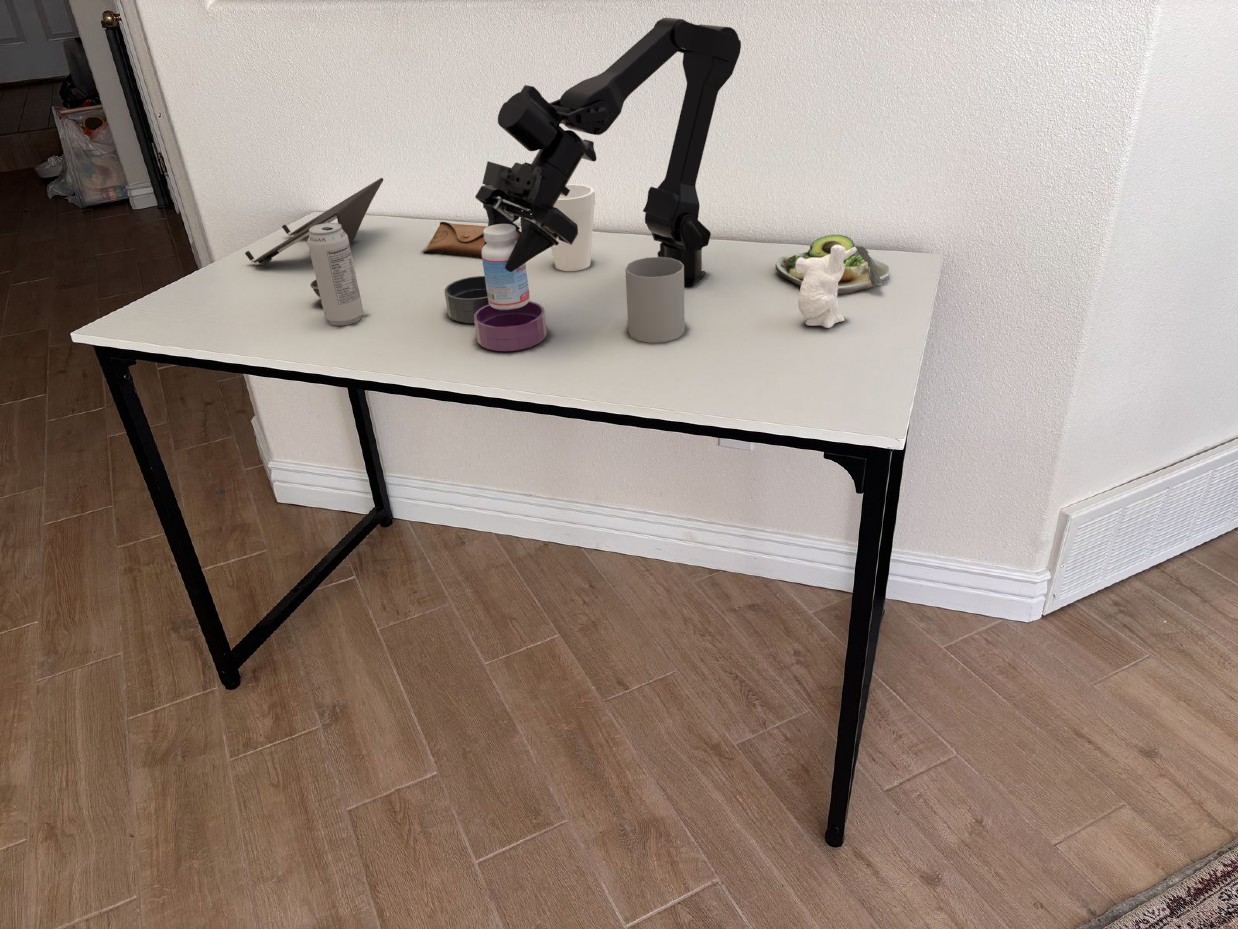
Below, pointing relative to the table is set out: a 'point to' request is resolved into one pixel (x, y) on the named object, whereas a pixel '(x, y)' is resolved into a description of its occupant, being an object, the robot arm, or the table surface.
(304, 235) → the laptop stand
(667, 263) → the cup
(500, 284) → the pill bottle
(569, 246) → the foam cup
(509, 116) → the robot arm
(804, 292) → the white figurine
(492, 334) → the plum bowl
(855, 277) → the salad plate
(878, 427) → the table surface
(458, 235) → the sunglasses case
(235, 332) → the table surface
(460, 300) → the charcoal bowl
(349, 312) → the energy drink can
